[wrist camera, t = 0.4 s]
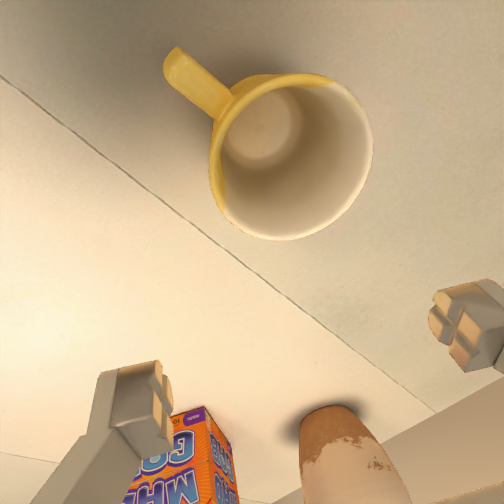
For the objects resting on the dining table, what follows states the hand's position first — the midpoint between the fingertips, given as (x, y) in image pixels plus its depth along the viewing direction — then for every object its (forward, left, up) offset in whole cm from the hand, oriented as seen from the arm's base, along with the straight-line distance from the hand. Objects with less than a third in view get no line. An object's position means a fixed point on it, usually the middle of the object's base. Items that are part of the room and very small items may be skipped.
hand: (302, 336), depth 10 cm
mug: (-1, +2, -23) cm, 23 cm away
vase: (+55, +15, -23) cm, 62 cm away
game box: (+51, -12, -23) cm, 57 cm away
